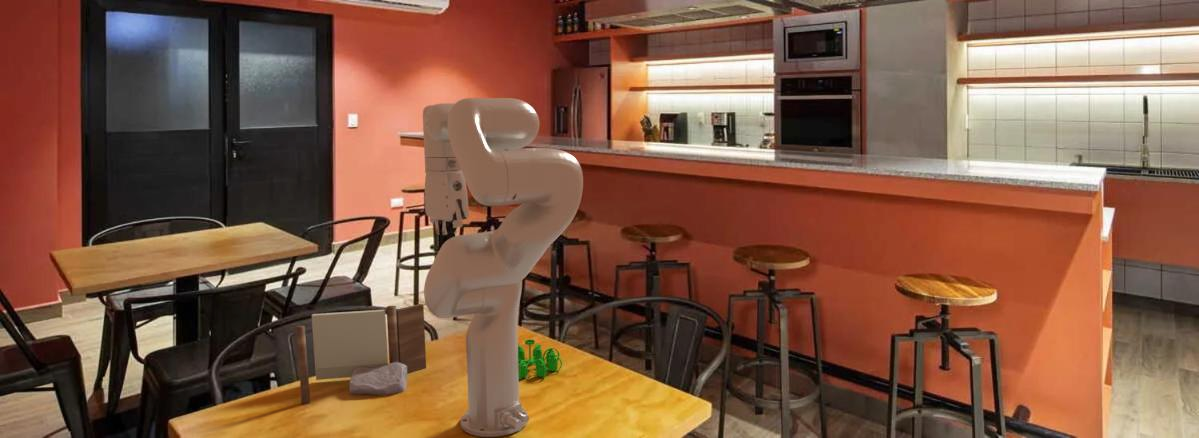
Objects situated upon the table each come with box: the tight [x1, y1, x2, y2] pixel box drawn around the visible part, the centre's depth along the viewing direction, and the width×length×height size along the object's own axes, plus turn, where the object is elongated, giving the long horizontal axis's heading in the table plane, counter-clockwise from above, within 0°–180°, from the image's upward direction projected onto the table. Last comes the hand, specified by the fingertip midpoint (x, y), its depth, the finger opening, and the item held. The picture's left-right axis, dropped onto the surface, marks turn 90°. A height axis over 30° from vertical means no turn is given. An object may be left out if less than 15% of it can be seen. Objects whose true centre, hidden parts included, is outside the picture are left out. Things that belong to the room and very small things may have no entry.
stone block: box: [348, 362, 408, 396], centre depth 147 cm, size 12×5×10 cm
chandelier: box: [518, 339, 563, 380], centre depth 157 cm, size 15×15×7 cm
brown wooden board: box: [295, 303, 427, 405], centre depth 148 cm, size 2×28×16 cm, turn 135°
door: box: [311, 309, 389, 381], centre depth 150 cm, size 15×1×14 cm, turn 102°
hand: (447, 252), depth 145 cm, fingers closed
